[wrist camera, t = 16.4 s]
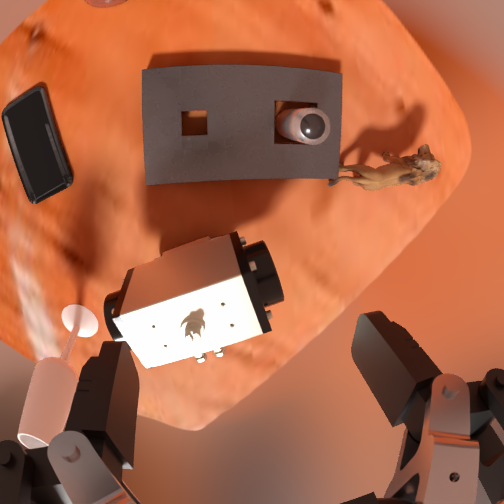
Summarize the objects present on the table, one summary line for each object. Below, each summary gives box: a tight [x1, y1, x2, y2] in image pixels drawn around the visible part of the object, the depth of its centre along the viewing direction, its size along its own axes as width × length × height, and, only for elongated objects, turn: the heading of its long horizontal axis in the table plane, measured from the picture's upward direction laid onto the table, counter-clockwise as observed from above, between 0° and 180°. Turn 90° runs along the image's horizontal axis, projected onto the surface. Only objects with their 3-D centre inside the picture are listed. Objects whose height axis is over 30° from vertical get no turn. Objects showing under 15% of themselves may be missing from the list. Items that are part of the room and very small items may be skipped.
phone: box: [2, 87, 73, 204], centre depth 31 cm, size 8×1×15 cm
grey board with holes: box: [142, 65, 342, 185], centre depth 34 cm, size 14×24×2 cm, turn 90°
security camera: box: [104, 231, 284, 369], centre depth 34 cm, size 18×8×18 cm, turn 107°
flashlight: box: [275, 108, 330, 145], centre depth 33 cm, size 4×4×8 cm
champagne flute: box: [18, 304, 98, 449], centre depth 32 cm, size 7×7×24 cm
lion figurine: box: [328, 144, 442, 191], centre depth 37 cm, size 15×5×9 cm, turn 112°
